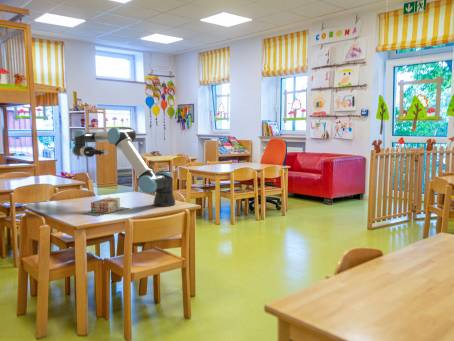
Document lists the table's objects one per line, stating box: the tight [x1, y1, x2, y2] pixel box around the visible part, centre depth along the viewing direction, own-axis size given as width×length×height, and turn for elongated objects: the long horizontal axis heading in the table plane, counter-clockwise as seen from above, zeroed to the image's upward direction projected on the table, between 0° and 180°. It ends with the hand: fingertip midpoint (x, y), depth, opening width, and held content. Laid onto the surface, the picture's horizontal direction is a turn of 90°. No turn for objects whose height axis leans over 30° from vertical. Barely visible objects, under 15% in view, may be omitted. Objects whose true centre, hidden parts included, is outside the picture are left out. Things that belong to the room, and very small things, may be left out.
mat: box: [82, 206, 130, 217], centre depth 266 cm, size 13×28×1 cm, turn 150°
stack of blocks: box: [90, 197, 121, 214], centre depth 269 cm, size 21×6×12 cm
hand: (107, 152), depth 288 cm, fingers closed
